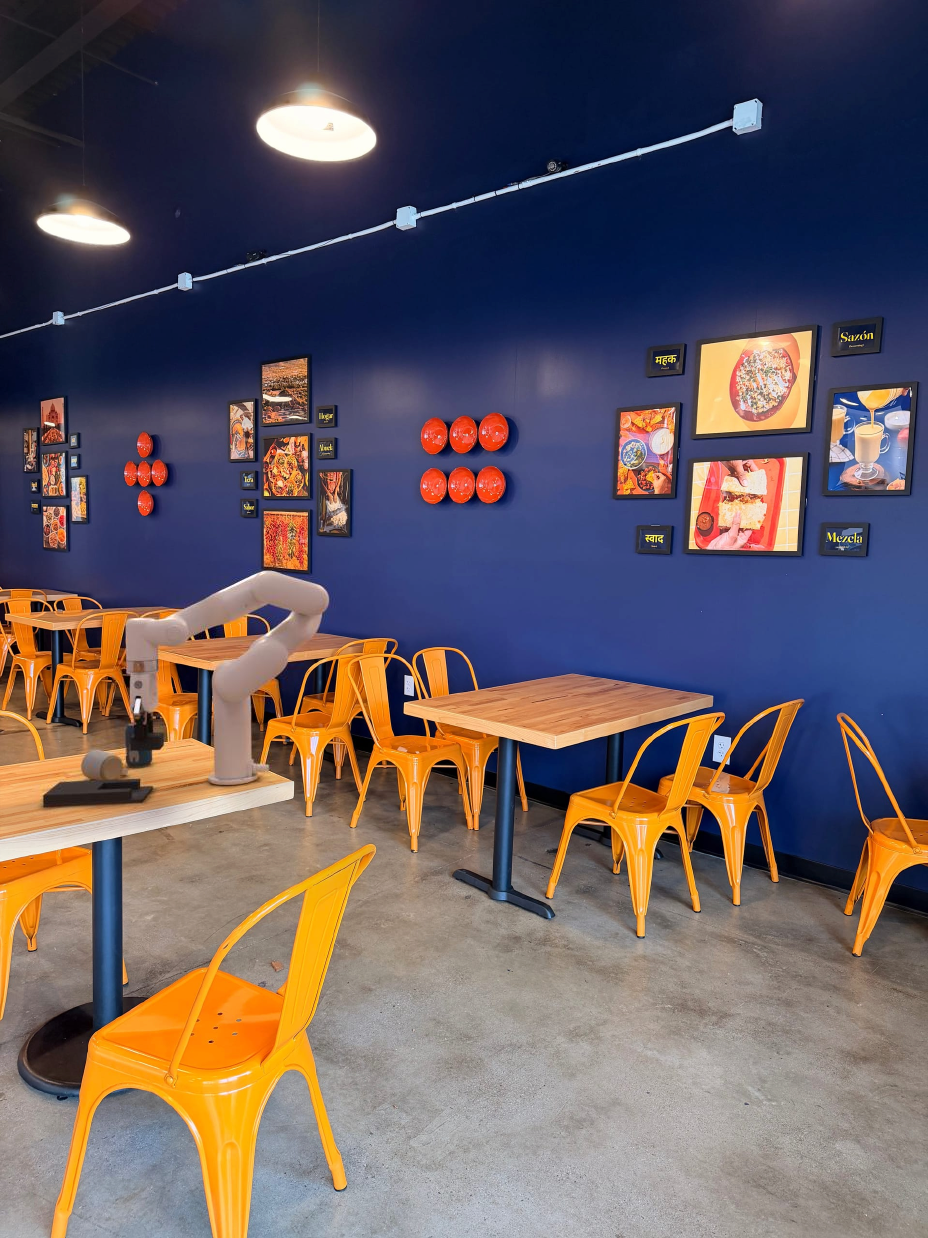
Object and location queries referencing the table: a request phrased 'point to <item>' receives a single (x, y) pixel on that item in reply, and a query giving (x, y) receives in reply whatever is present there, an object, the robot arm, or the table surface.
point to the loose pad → (148, 742)
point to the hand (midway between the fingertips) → (143, 737)
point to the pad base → (96, 792)
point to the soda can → (135, 757)
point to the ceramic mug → (102, 766)
